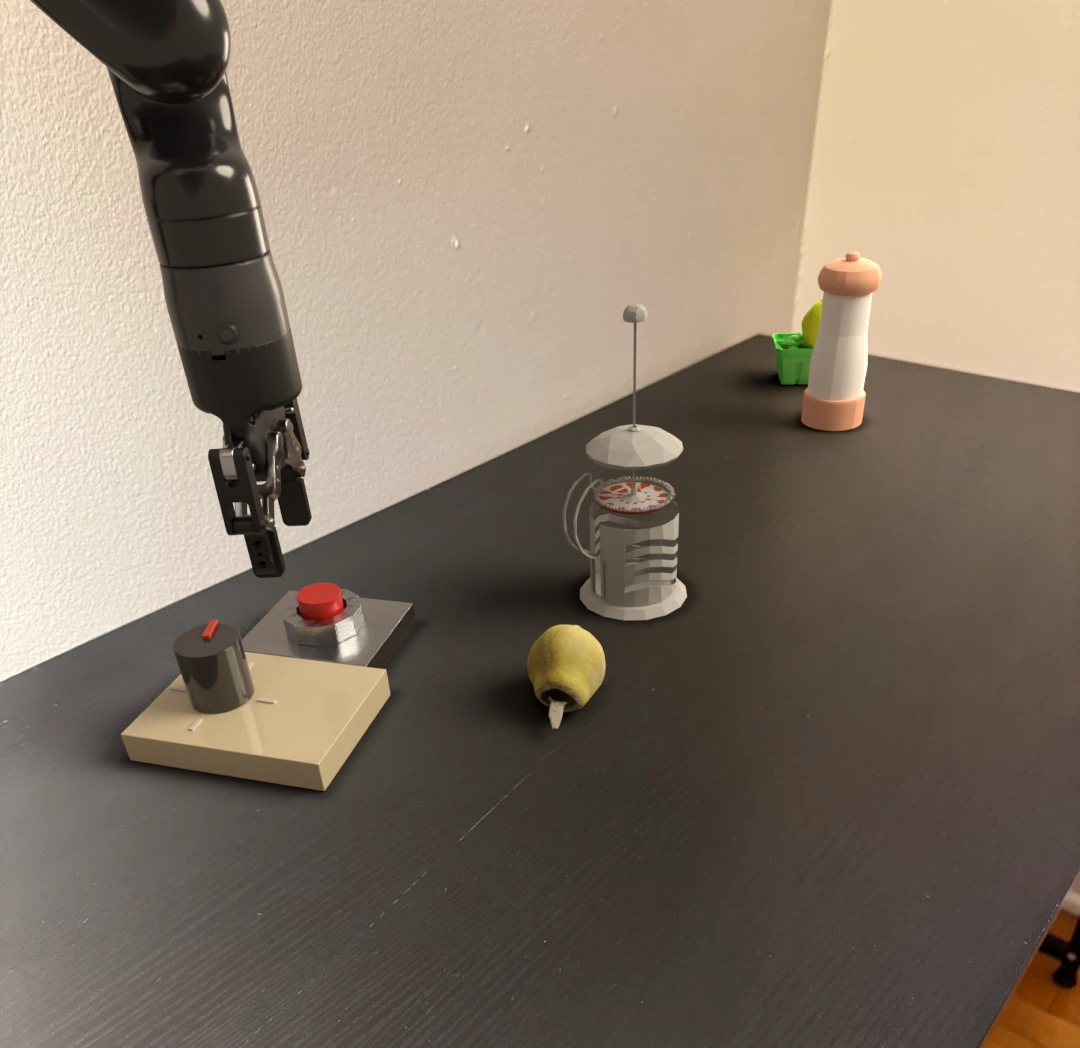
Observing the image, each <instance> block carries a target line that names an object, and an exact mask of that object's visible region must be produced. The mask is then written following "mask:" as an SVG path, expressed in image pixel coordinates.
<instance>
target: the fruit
mask: <svg viewBox="0 0 1080 1048" xmlns="http://www.w3.org/2000/svg"><path fill="white" fill-rule="evenodd" d="M604 652H605V651H604V649H603V646H602V644H601V643H600V642H599V641H598V639H597V638H596V637H595V636H594V635H593V634H592V633H591V632H589V631H588V630H586V629H584V628H582V626H580V625H578V624H556V625H553V626H550V627H549V628H548V629H546V630H545V631H544V632H543V633H542V634H541V635H540V636H539V637H538V638H537V639H536V640H535V641H534V643H533V644H532V646H531V648H530V650H529V653H528V656H527V661H526V667H527V674H528V678H529V680H530V682H531V684H532V686H533V689H534V690H533V691H534V695H535V696H536V698H537V700H539V701H540V702H541V704H542V705H545V706H547V707H549V708H548V718H549V720H550V721H549V722H550V726H551V729H552V730H553V731H558V730H559V727H560V725H561V722H562V719H563V714H564V713H571V712H575V711H578V710H581V709H582V708H583V707H584V706H585V705H586V704H587V703H588V702H589V701H590V699H591V698H592V697H593V696H594V694H595V693H596V692H597V691H598V689H599V688H600V687H601V685H602V684H603V681H604V678H605V676H606V665H607V664H606V658H605V657H606V656H605V653H604Z"/></svg>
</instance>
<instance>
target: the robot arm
mask: <svg viewBox="0 0 1080 1048" xmlns="http://www.w3.org/2000/svg"><path fill="white" fill-rule="evenodd" d="M29 1H30V2H31V3H32V4H33V5H34V6H36V8H37V9H39V11H41V12H42V13H43V14H45V15H46V16H47V17H48V18H49V19H50V20H52V21H53V22H54V23H55V24H56V25H57V26H58V27H59V28H61V29H62V30H63V31H64V32H65V33H66V34H67V35H69V36H70V37H71V38H72V39H73V40H75V41H76V42H77V43H78V44H79V45H80V46H81V47H83V48H84V49H85V50H86V51H88V53H90V54H91V55H92V56H93V57H94V58H96V59H97V60H98V61H99V62H100V63H102V64H103V65H104V66H105V67H106V71H107V73H108V76H109V79H110V83H111V87H112V89H113V93H114V96H115V99H116V102H117V105H118V109H119V111H120V115H121V118H122V121H123V124H124V127H125V131H126V134H127V136H128V137H127V138H128V140H129V143H130V145H131V148H132V151H133V155H134V158H135V163H136V167H137V174H138V175H137V176H138V181H139V188H140V195H141V200H142V204H143V209H144V212H145V217H146V220H147V225H148V228H149V231H150V235H151V239H152V240H151V241H152V244H153V247H154V251H155V254H156V259H157V262H158V263H159V270H160V274H161V281H162V289H163V295H164V301H165V305H166V308H167V309H166V310H167V313H168V317H169V321H170V323H171V327H172V332H173V336H174V339H175V342H176V346H177V350H178V353H179V358H180V361H181V365H182V367H183V372H184V375H185V379H186V383H187V386H188V389H189V393H190V397H191V401H192V404H193V405H194V407H196V408H197V409H198V410H199V411H201V412H203V413H205V414H208V415H209V414H210V415H213V416H215V417H217V418H218V419H219V420H220V421H221V422H222V430H223V431H222V432H223V435H222V447H220V448H209V450H208V453H207V460H208V464H209V468H210V470H211V472H210V473H211V475H212V481H213V484H214V488H215V492H216V496H217V500H218V504H219V508H220V512H221V515H222V520H223V524H224V528H225V532H226V534H227V535H228V536H242V535H243V538H244V542H245V546H246V550H247V554H248V557H249V561H250V564H251V568H252V572H253V574H254V576H255V577H257V578H259V579H272V578H274V579H275V578H276V579H277V578H281V577H282V576H283V575H284V573H285V571H286V564H285V560H284V555H283V551H282V547H281V543H280V539H279V534H278V530H277V527H276V526H275V525H276V519H275V501H276V500H277V503H278V507H279V511H280V515H281V519H282V523H283V524H284V525H285V526H286V527H303V526H304V527H305V526H309V524H310V522H311V521H312V518H313V516H312V511H311V506H310V503H309V497H308V493H307V488H306V484H305V483H306V482H305V479H304V478H305V477H306V472H307V467H306V465H305V462H304V461H308V460H309V458H310V448H309V445H308V441H307V437H306V433H305V432H306V431H305V427H304V423H303V420H302V414H301V411H300V406H299V402H298V397H299V396H300V394H301V393H302V390H303V381H302V377H301V373H300V366H299V362H298V358H297V357H298V356H297V352H296V348H295V343H294V337H293V333H292V328H291V323H290V317H289V314H288V308H287V303H286V299H285V293H284V290H283V286H282V282H281V279H280V276H279V273H278V270H277V267H276V265H275V261H274V258H273V254H272V249H271V245H270V241H269V237H268V232H267V227H266V221H265V217H264V212H263V208H262V201H261V198H260V194H259V189H258V185H257V182H256V178H255V176H254V173H253V170H252V167H251V165H250V163H249V160H248V158H247V156H246V154H245V152H244V150H243V148H242V145H241V140H240V137H239V131H238V125H237V121H236V115H235V111H234V110H235V109H234V105H233V100H232V99H233V98H232V94H231V90H230V84H229V80H228V74H227V69H228V66H229V63H230V58H231V51H232V50H231V49H232V36H231V29H230V24H229V20H228V16H227V13H226V10H225V7H224V5H223V3H222V1H221V0H29ZM263 482H264V483H263ZM258 483H261V484H258ZM248 509H249V514H248Z"/></svg>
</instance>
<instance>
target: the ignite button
mask: <svg viewBox="0 0 1080 1048" xmlns="http://www.w3.org/2000/svg"><path fill="white" fill-rule="evenodd" d="M340 589H341V588H340V587H339V585H337V584H334V583H332V582H316V583H311V584H308V585H306V586H304V587H302V588H301V589H300V590H298V591H299V592H298V594H297V600H298V605H299V609H300V613H301V617H302V618H303V619H306V620H315V621H317V620H323V619H329V618H332V617H334V616H336V615H338V614H340V613H342V612H343V610H344V605H343V600H342V595H341V590H340Z"/></svg>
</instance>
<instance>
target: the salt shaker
mask: <svg viewBox="0 0 1080 1048" xmlns="http://www.w3.org/2000/svg"><path fill="white" fill-rule="evenodd" d="M882 282H883V273H882V270H881V268H880V265H879V264H878V263H876V262H875V261H872V260H871V259H868V258H865V257H861V254H860V252H859V251H855V250H852V251H848V252H847V253H846V254H845V255H844V257H839V258H835V259H833V260H831V261H828V262H826V263H825V264H824V265H823V267H821V269H820V270H819V274H818V277H817V284H818V287H819V290H821V291H822V292H823V295H822V299H823V302H822V310H821V318H820V326H819V331H818V335H817V338H816V342H815V346H814V350H813V353H812V357H811V361H810V370H809V382H808V384H807V388H805V389H804V392H803V398H802V399H803V400H802V407H801V408H802V409H801V416H800V417H801V418H800V421H801V422H802V424H803V425H805V426H807V427H809V428H812V429H815V430H819V431H826V432H841V431H842V432H843V431H848V430H853V429H856V428H859V426H860V425H862V424H863V423H862V422H863V417H864V410H865V403H866V396H867V395H866V391H865V390H864V387H865V382H866V376H867V372H868V371H867V370H868V365H869V364H868V361H869V359H868V356H869V355H868V329H869V324H870V323H869V322H870V317H871V315H870V314H871V308H872V300H873V293H874V292H876V291H877V290H878V289H879V288H880V286H881V284H882Z"/></svg>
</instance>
